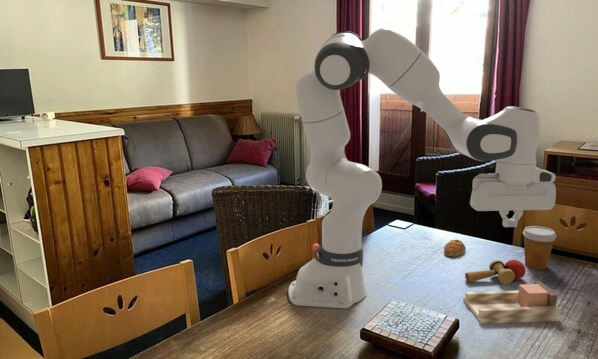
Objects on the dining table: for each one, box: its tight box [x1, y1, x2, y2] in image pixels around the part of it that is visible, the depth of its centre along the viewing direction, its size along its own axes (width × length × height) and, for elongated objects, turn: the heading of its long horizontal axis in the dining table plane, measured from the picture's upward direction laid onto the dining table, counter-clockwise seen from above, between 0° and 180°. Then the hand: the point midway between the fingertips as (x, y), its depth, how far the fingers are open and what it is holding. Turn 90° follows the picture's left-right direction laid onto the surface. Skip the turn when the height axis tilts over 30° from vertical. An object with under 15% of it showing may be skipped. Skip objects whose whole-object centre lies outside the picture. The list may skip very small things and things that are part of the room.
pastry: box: [443, 239, 467, 258], centre depth 159 cm, size 9×7×4 cm
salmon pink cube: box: [518, 283, 548, 307], centre depth 120 cm, size 5×5×5 cm
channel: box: [463, 281, 561, 325], centre depth 120 cm, size 20×12×6 cm, turn 92°
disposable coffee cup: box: [522, 225, 557, 270], centre depth 147 cm, size 10×10×12 cm
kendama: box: [464, 259, 526, 285], centre depth 138 cm, size 8×6×18 cm
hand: (509, 226), depth 116 cm, fingers closed
